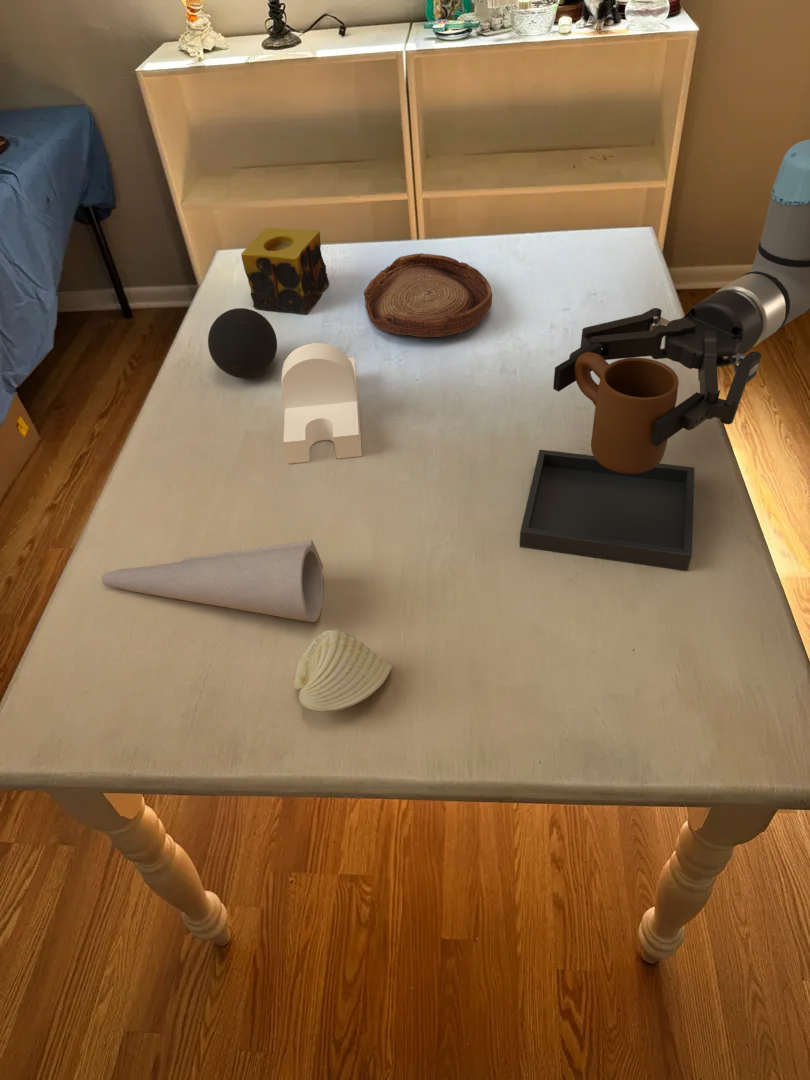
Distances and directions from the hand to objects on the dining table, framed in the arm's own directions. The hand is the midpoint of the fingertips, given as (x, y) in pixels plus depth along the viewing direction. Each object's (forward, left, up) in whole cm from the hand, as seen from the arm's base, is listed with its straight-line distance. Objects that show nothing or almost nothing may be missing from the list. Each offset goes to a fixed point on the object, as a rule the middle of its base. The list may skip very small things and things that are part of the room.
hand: (603, 405), depth 79 cm
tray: (+2, -3, -18) cm, 18 cm away
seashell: (-14, +32, -18) cm, 39 cm away
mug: (+1, -2, -6) cm, 7 cm away
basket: (+54, +6, -18) cm, 57 cm away
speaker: (+46, +36, -18) cm, 61 cm away
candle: (+66, +27, -18) cm, 73 cm away
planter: (+1, +44, -18) cm, 48 cm away
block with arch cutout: (+31, +26, -18) cm, 44 cm away
